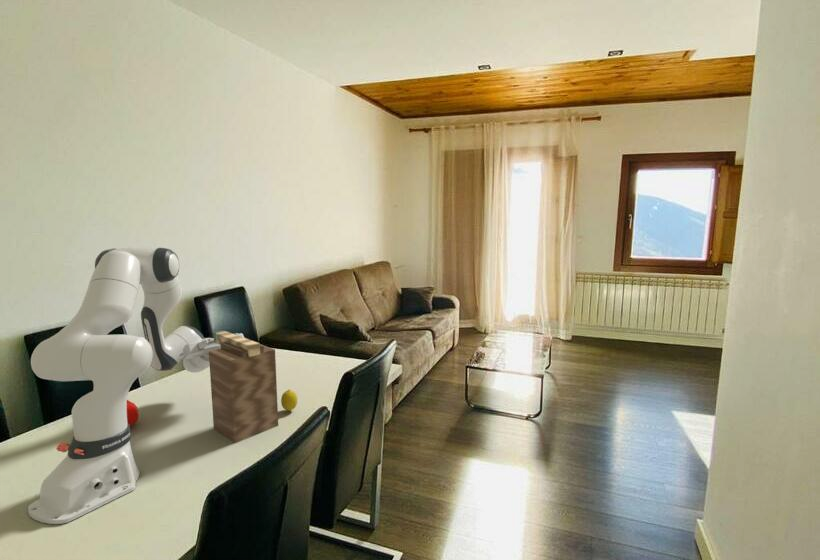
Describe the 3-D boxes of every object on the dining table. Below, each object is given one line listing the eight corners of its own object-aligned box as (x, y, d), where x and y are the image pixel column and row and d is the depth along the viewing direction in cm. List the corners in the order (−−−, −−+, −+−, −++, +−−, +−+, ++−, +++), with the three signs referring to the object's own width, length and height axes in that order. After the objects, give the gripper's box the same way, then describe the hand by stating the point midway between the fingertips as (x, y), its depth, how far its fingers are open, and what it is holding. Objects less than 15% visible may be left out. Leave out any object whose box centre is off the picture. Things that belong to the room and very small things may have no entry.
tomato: (78, 439, 132) (75, 412, 131) (108, 420, 144) (106, 396, 143) (121, 440, 131) (119, 413, 130) (148, 421, 144) (146, 396, 143)
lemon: (293, 415, 149) (292, 393, 148) (278, 413, 150) (277, 392, 149) (300, 408, 154) (299, 387, 153) (286, 407, 155) (285, 386, 154)
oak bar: (260, 354, 133) (259, 343, 132) (249, 356, 130) (249, 345, 130) (223, 340, 148) (223, 330, 148) (213, 342, 146) (213, 332, 145)
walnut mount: (234, 443, 130) (229, 354, 126) (213, 428, 139) (208, 345, 135) (278, 425, 141) (274, 343, 137) (256, 413, 150) (252, 335, 147)
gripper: (175, 349, 146) (188, 335, 138) (232, 337, 162) (247, 324, 153) (179, 366, 145) (193, 353, 136) (237, 352, 160) (253, 340, 152)
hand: (222, 338), depth 145 cm, fingers open, 8 cm apart
